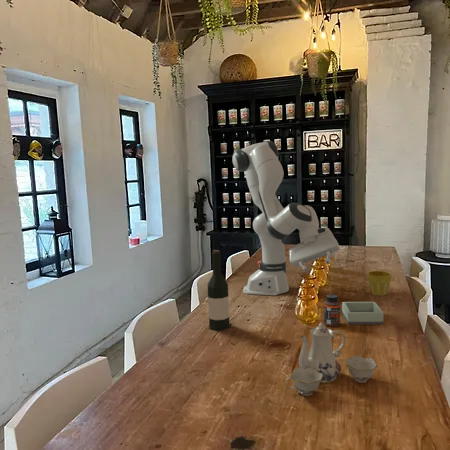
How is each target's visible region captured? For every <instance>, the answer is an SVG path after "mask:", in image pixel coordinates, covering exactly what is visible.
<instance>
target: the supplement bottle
mask: <svg viewBox="0 0 450 450" xmlns="http://www.w3.org/2000/svg"><path fill="white" fill-rule="evenodd" d="M338 298H339V297H338V295H337V294H332V293H331V294H327V295H326V300H325V301H324V302H323V324H324V326H326V327H334V328H335V327H338V326H340V325H341V303H340V301H339V300H338Z"/></svg>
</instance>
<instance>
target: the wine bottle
mask: <svg viewBox="0 0 450 450" xmlns="http://www.w3.org/2000/svg"><path fill="white" fill-rule="evenodd" d="M221 256H222V255H221V251H220V250H218V249H213V250H212V253H211V259H212V275H211V277H210V279H209V280H208V283H207V300H208V301H207V302H208V304H207V305H208V319H209V320H208V323H209V324H208V325H209V327H208V328H209V329H210V330H212V331H216V332H217V331H226V330H227V329H230V328H231V327H230V324H231V323H230V306H229V305H230V303H229V302H230V301H229V285H228V281H226V279H225V276H224V275H223V274H222V259H221Z"/></svg>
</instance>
